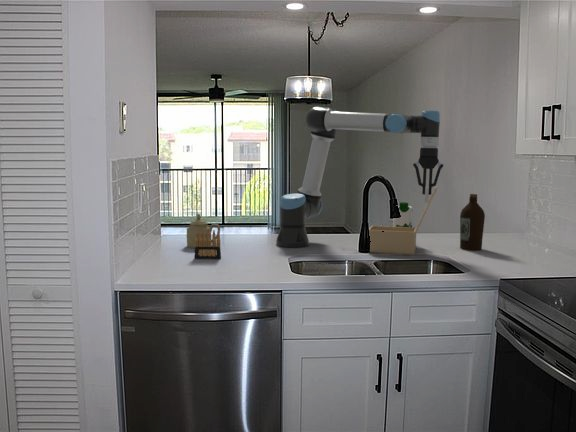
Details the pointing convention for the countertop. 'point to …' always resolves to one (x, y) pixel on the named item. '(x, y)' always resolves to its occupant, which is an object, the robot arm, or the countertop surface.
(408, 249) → the carton
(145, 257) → the countertop surface
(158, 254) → the countertop surface
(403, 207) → the milk carton
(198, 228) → the sugar bowl
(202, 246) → the ammunition clip
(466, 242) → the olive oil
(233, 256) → the countertop surface
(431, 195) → the carton flap
